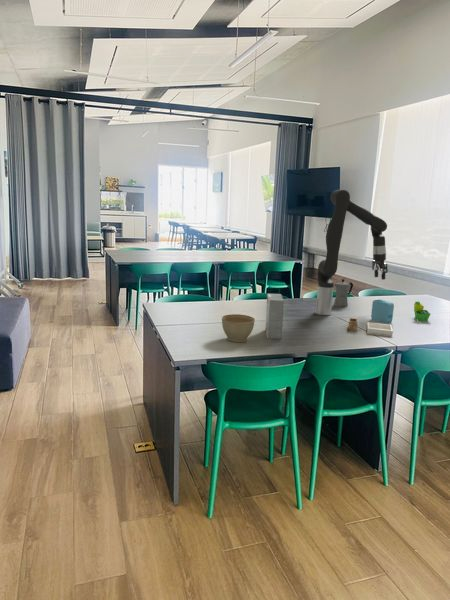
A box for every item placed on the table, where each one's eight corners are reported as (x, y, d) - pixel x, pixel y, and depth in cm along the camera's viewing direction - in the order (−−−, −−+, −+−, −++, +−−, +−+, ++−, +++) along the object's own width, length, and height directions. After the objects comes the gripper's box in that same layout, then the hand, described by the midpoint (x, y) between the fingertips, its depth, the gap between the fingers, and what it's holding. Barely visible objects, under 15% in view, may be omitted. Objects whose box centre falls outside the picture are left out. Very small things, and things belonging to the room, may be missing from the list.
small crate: (348, 330, 249) (348, 321, 248) (348, 326, 256) (349, 317, 255) (356, 331, 248) (357, 322, 246) (356, 327, 255) (357, 318, 254)
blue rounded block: (392, 323, 267) (394, 303, 265) (387, 324, 265) (389, 303, 262) (375, 318, 277) (377, 299, 275) (370, 319, 275) (372, 299, 272)
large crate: (367, 333, 243) (367, 328, 242) (366, 327, 256) (367, 322, 255) (392, 336, 240) (392, 331, 239) (390, 329, 252) (391, 324, 252)
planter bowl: (229, 346, 215) (230, 323, 212) (216, 336, 229) (216, 315, 227) (259, 342, 221) (260, 321, 219) (244, 333, 235) (245, 313, 233)
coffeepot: (337, 307, 302) (339, 280, 298) (328, 304, 310) (330, 278, 307) (355, 306, 309) (358, 279, 305) (346, 303, 317) (348, 277, 313)
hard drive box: (265, 329, 244) (267, 293, 240) (279, 330, 244) (281, 293, 239) (266, 338, 229) (269, 299, 224) (282, 339, 228) (284, 300, 224)
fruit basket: (429, 322, 272) (432, 304, 269) (414, 321, 274) (416, 302, 271) (425, 317, 283) (428, 300, 280) (410, 316, 284) (412, 299, 282)
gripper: (368, 252, 289) (368, 277, 293) (379, 254, 275) (380, 281, 279) (379, 250, 290) (379, 275, 294) (391, 253, 276) (391, 279, 280)
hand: (379, 278), depth 287 cm, fingers open, 8 cm apart
